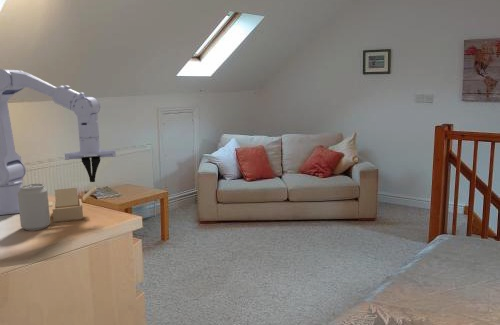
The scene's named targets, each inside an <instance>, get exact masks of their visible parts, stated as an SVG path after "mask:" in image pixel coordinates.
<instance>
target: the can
mask: <svg viewBox="0 0 500 325" xmlns="http://www.w3.org/2000/svg"><path fill="white" fill-rule="evenodd" d="M22 185H23V184H22ZM19 188H20V190H19V192H18V203H19V213H18V214H19V222H20V227H21V228H22V229H24V230H26V231H29V232H31V231H32V232H33V231H38V230H39V231H40V230H43V229H46V228H47V227H48V226H49V225H50V224H51V216H50V214H51V213H50V207H49V202H50V201H49V194H48V189H47V188H46V187H45V184H43V183H29V184H24V185H23V186H20V187H19Z"/></svg>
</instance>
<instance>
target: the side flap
mask: <svg viewBox="0 0 500 325" xmlns="http://www.w3.org/2000/svg"><path fill="white" fill-rule="evenodd" d="M96 191H97V187H96V185H93V186H92V187H91V188H90V189H89V190H88V191H87V192H86V193H85V194H84V195H83V196H82V201H83V202H84V201H86V200H87V199H88V198H89V197H90V196H91V195H92V194H93V193H95V192H96Z"/></svg>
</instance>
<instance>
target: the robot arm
mask: <svg viewBox="0 0 500 325" xmlns="http://www.w3.org/2000/svg"><path fill="white" fill-rule="evenodd" d="M25 88H28V89H31V90H33V91H37V92H38V93H41V94H43V95H46V96H49V97H51V99H52V101H53V103H54V104H57V105H59V106H60V107H63V108H66V109H68V110H70V111H72V112H74V114H75V115H76V116H77V125H78V126H77V127H78V140H79V151H73V152H71V151H70V152H64V161H69V160H81V162H82V164H83V166H84V168H85V169H86V172H87V174H88V178H89V182H90V183H95V182H96V175H97V171H98V168H99V165H100V162H101V158H111V157H112V158H113V157H114V158H116V157H117V156H116V150H115V149H101V144H100V131H99V116H98V113H99V112H100V110H101V104H100V101H99V100H98V99H97V98H96V97H94V96H92V95H89V96H86V93H85V92H79V91H77V90H73V89H72V87H71V86H70V85H68V84H67V85H59V86H54V84H51V83H50V82H47V81H45V80H43V79H41V78H40V77H37V76H36V75H33V74H31V73H29V72H26V71H23V70H21V69H4V68H0V216H2V215H13V214H20V213H19V203H18V192H19V190H20V188H19V187H20V186H23V181H24V179H23V178H24V177H25V175H26V172H27V168H26V166H25V164H24V163H23V161H22V156H21V155H20V154H19V153H18V152H16V148H15V143H14V142H15V140H14V137H13V136H14V135H13V129H12V122H11V118H10V111H9V105H8V101H9V100H10V99H11V98H12V97H13V95H15V94H16V93H19V92H21V91H22V90H24V89H25Z"/></svg>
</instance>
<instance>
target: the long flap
mask: <svg viewBox="0 0 500 325" xmlns="http://www.w3.org/2000/svg"><path fill="white" fill-rule="evenodd" d="M54 193H55V194H54V197H55V201H56V207H61V206H71V205H78V199H79V196H78V187H71V188H61V189H54Z"/></svg>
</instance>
